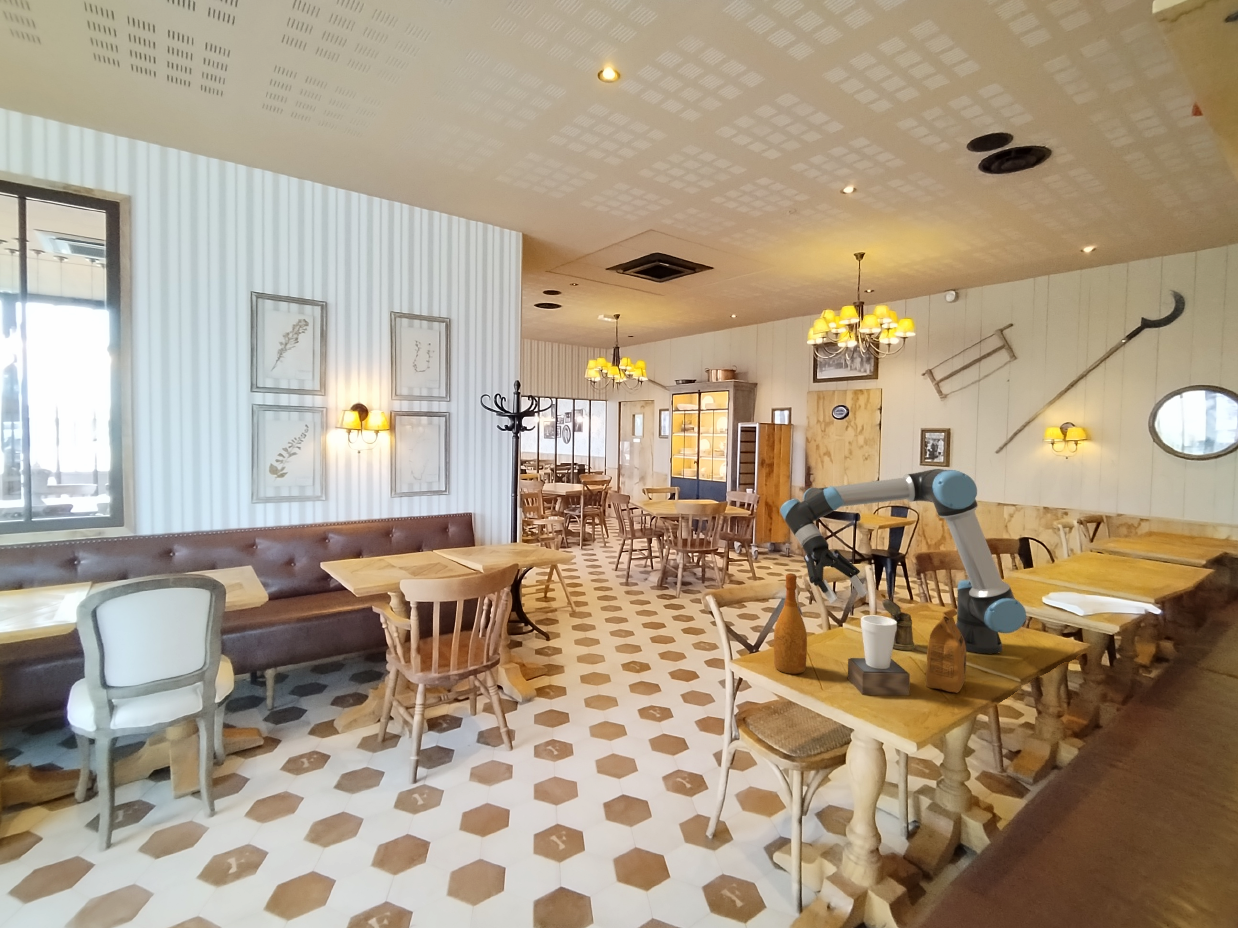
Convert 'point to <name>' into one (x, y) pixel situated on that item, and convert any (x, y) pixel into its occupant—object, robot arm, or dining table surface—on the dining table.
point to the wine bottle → (790, 633)
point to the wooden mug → (900, 626)
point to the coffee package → (946, 655)
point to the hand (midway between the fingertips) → (849, 598)
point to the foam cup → (878, 640)
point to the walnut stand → (878, 678)
